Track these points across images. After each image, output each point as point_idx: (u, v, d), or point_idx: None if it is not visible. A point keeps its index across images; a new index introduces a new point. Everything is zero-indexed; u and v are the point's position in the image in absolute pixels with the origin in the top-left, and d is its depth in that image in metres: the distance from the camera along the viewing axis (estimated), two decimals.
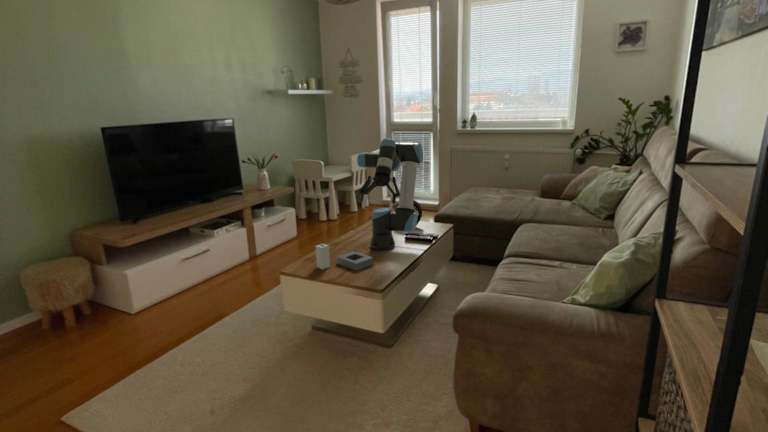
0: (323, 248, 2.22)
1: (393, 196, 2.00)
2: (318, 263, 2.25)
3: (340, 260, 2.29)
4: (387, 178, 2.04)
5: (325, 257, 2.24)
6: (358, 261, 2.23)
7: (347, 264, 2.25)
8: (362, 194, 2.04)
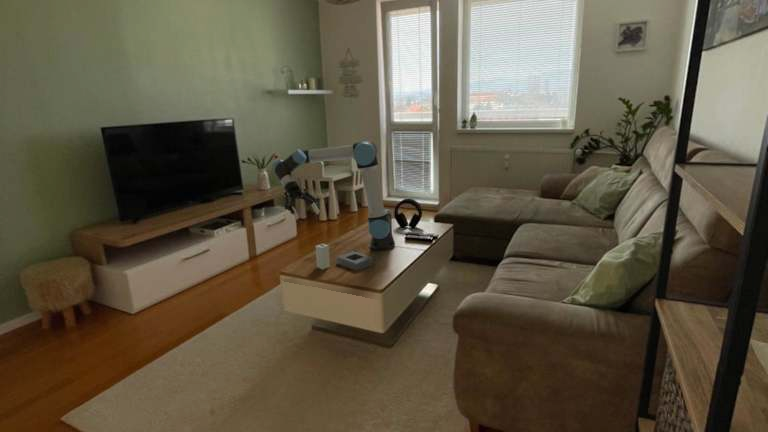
0: (323, 248, 2.22)
1: None
2: (318, 263, 2.25)
3: (340, 260, 2.29)
4: None
5: (325, 257, 2.24)
6: (358, 261, 2.23)
7: (347, 264, 2.25)
8: None
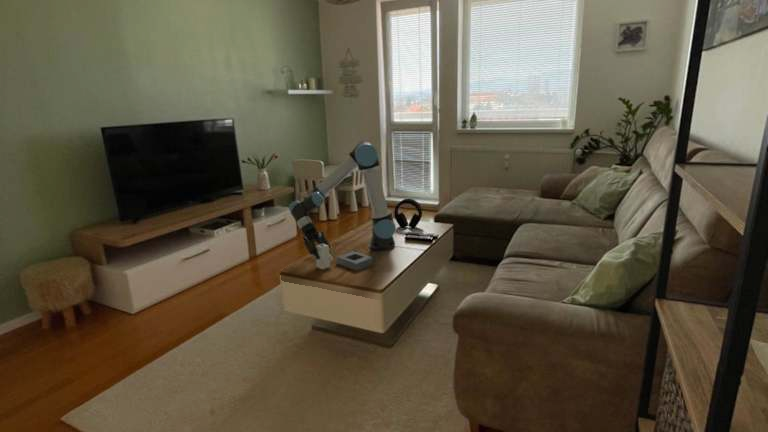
0: (323, 248, 2.22)
1: None
2: (318, 263, 2.25)
3: (340, 260, 2.29)
4: None
5: (325, 257, 2.24)
6: (358, 261, 2.23)
7: (347, 264, 2.25)
8: None
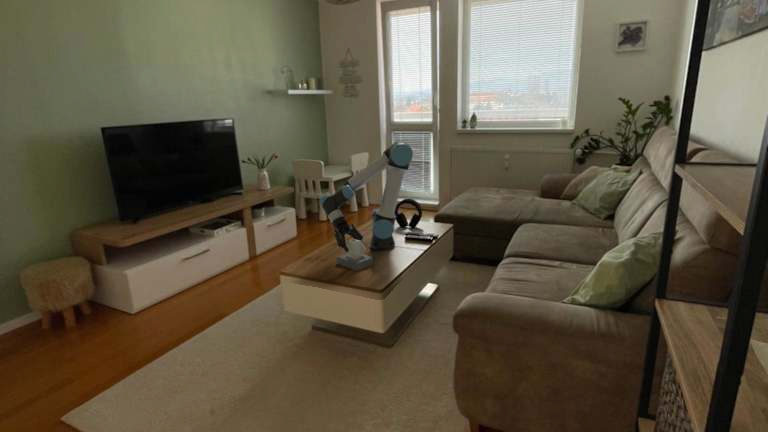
0: (355, 243, 2.25)
1: None
2: (350, 258, 2.28)
3: (340, 260, 2.29)
4: None
5: (357, 252, 2.27)
6: (358, 261, 2.23)
7: (347, 264, 2.25)
8: None
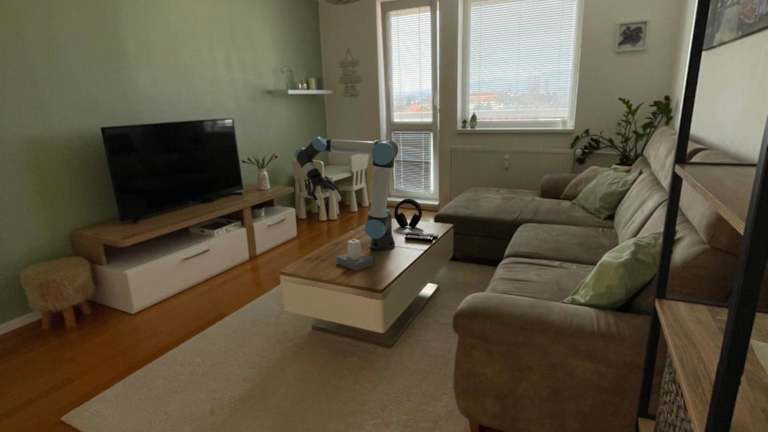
0: (355, 243, 2.25)
1: None
2: (350, 258, 2.28)
3: (340, 260, 2.29)
4: None
5: (357, 252, 2.27)
6: (358, 261, 2.23)
7: (347, 264, 2.25)
8: None
